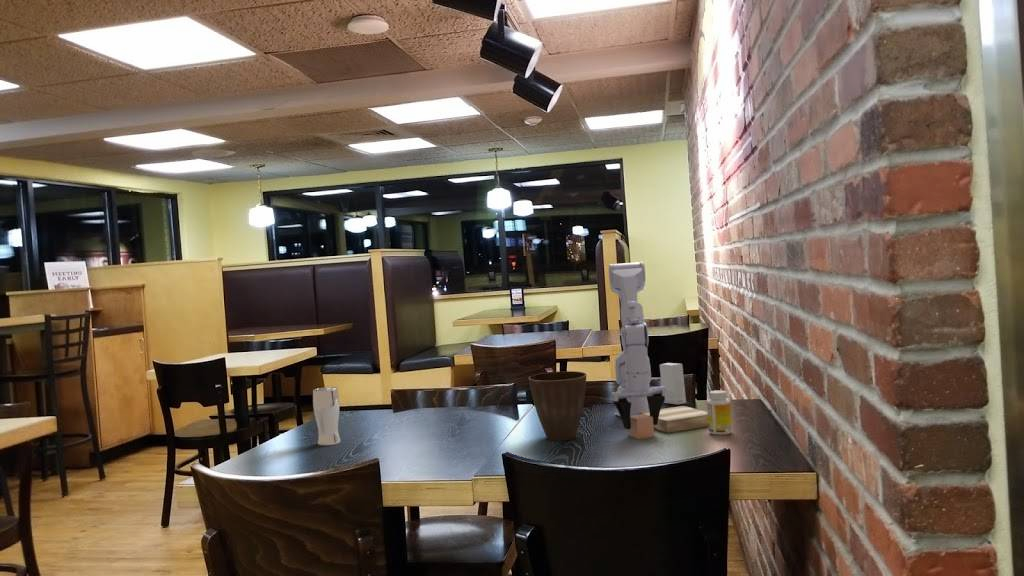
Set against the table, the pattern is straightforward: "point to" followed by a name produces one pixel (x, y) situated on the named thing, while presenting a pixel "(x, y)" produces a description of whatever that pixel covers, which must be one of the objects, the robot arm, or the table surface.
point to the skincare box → (673, 383)
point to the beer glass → (327, 415)
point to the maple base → (680, 419)
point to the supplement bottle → (719, 413)
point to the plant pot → (559, 402)
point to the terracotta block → (641, 426)
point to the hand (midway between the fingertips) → (640, 426)
